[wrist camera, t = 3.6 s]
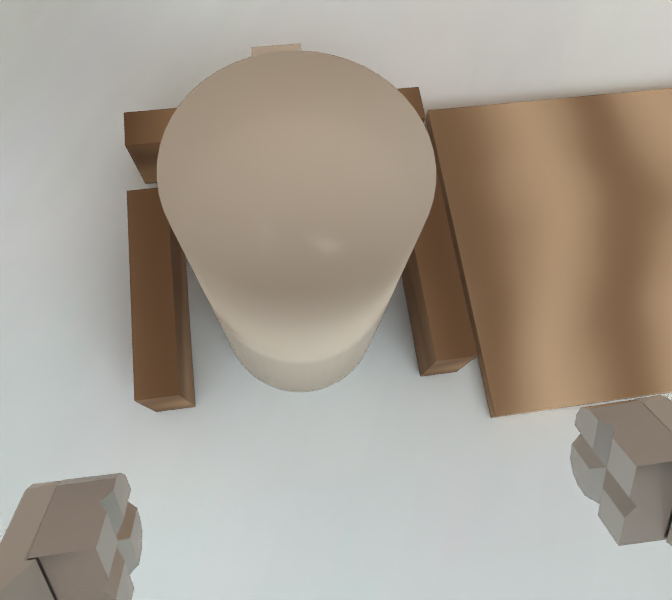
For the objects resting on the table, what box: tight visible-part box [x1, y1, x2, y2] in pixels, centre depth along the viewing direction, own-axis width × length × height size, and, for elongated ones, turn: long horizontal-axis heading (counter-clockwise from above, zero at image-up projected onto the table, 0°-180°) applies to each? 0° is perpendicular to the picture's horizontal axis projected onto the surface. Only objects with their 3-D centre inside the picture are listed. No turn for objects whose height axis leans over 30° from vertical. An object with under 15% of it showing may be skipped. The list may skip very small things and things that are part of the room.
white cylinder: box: [157, 44, 436, 392], centre depth 19 cm, size 6×8×12 cm
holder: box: [124, 87, 477, 412], centre depth 23 cm, size 12×12×3 cm
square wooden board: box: [426, 88, 672, 418], centre depth 25 cm, size 14×14×1 cm
